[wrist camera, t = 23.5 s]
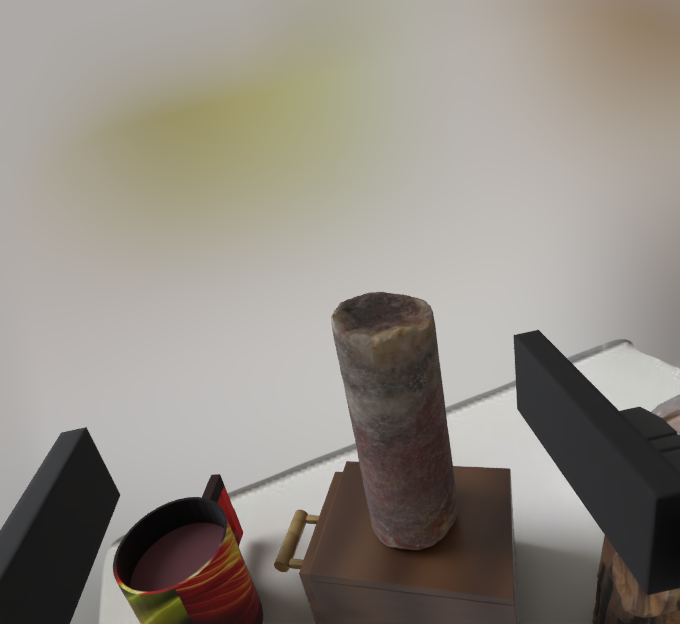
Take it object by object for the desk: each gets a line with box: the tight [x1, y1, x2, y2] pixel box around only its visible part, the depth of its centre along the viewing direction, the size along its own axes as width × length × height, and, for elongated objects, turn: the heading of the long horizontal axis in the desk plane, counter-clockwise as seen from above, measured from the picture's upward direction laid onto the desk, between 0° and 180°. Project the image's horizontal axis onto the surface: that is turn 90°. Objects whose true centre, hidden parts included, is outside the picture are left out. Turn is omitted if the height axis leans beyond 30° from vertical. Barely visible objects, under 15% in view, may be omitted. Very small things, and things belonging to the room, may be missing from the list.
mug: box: [113, 474, 263, 624], centre depth 48 cm, size 10×14×12 cm
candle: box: [331, 292, 458, 550], centre depth 40 cm, size 8×7×20 cm
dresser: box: [308, 461, 518, 624], centre depth 46 cm, size 16×13×10 cm
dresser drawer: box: [274, 472, 343, 624], centre depth 47 cm, size 19×11×8 cm, turn 75°
